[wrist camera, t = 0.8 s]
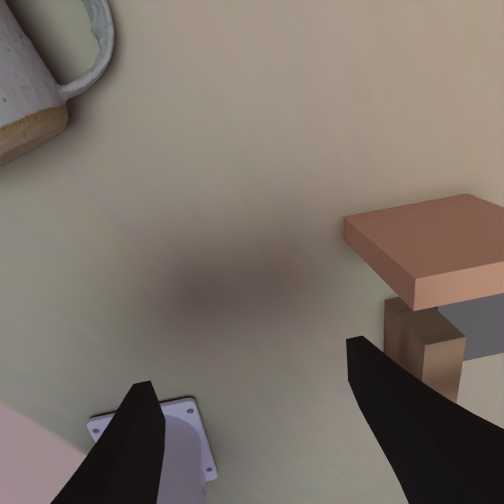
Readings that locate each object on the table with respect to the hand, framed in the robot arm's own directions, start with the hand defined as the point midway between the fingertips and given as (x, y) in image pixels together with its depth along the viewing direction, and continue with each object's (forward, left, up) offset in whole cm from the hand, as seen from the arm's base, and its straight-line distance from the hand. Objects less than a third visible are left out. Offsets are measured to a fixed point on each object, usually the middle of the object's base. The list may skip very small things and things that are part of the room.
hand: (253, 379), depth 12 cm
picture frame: (+1, -11, -10) cm, 15 cm away
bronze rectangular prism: (-9, -11, -10) cm, 18 cm away
